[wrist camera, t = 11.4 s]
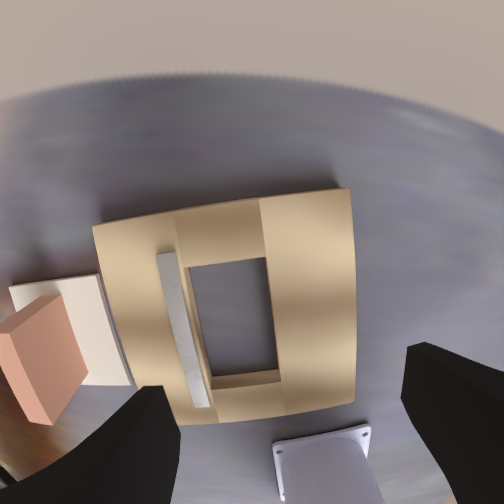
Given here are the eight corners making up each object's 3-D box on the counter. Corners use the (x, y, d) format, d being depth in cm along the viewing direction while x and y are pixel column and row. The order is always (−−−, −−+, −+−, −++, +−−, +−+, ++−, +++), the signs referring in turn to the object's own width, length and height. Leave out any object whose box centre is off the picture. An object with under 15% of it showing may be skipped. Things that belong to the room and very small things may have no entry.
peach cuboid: (88, 372, 19) (53, 425, 13) (67, 372, 19) (29, 421, 13) (61, 294, 18) (9, 333, 12) (40, 296, 18) (-13, 333, 12)
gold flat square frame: (348, 389, 20) (356, 406, 18) (157, 412, 20) (151, 430, 18) (340, 187, 17) (352, 188, 15) (102, 222, 17) (87, 228, 15)
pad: (132, 381, 20) (130, 385, 19) (47, 379, 20) (44, 382, 19) (98, 273, 18) (95, 275, 17) (12, 285, 18) (8, 287, 17)
